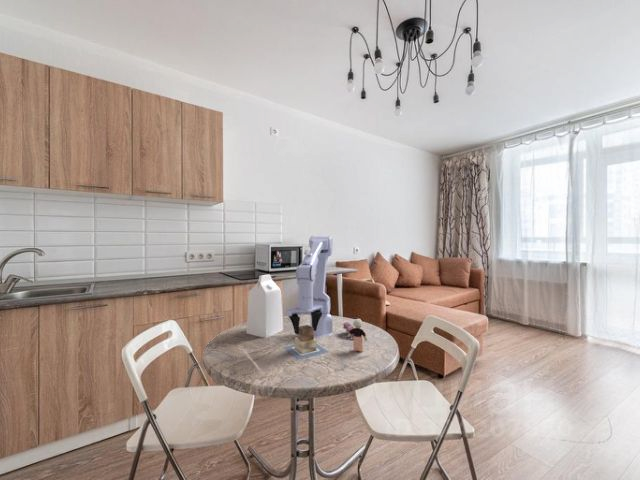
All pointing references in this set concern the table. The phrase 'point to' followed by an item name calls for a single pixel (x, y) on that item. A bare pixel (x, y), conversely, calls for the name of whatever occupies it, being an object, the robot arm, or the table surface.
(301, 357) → the board
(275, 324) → the milk
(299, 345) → the maple block
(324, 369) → the table surface
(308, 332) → the walnut cube
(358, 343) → the grandmother figurine
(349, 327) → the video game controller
